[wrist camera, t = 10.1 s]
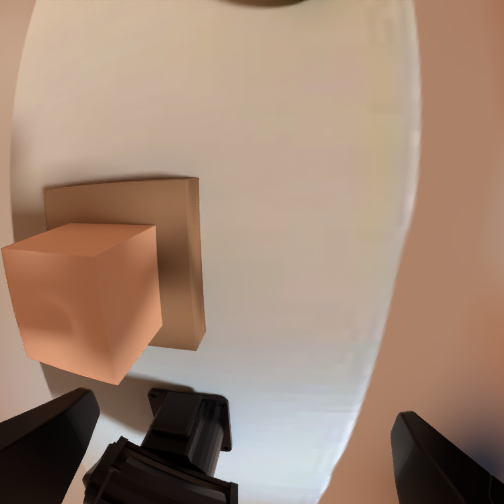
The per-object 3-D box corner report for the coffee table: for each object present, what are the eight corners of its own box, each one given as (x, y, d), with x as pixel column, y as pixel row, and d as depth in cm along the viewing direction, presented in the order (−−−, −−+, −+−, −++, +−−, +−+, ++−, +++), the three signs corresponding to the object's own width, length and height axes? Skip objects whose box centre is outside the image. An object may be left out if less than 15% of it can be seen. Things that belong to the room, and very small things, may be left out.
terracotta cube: (162, 325, 18) (117, 385, 12) (82, 312, 19) (27, 357, 13) (155, 225, 16) (94, 256, 11) (70, 223, 17) (1, 248, 11)
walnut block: (207, 327, 21) (196, 350, 18) (87, 314, 22) (67, 331, 19) (200, 177, 18) (185, 179, 16) (70, 185, 19) (43, 190, 17)
